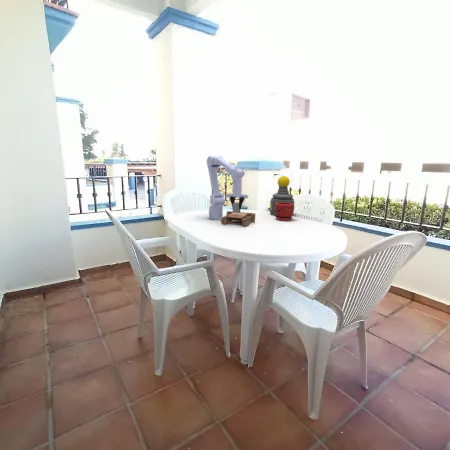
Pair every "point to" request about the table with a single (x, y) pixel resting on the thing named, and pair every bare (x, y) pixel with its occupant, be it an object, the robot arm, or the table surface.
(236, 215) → the trapdoor
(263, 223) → the table surface
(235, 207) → the stone
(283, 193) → the decorative lamp
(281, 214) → the plant pot
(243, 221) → the frame
